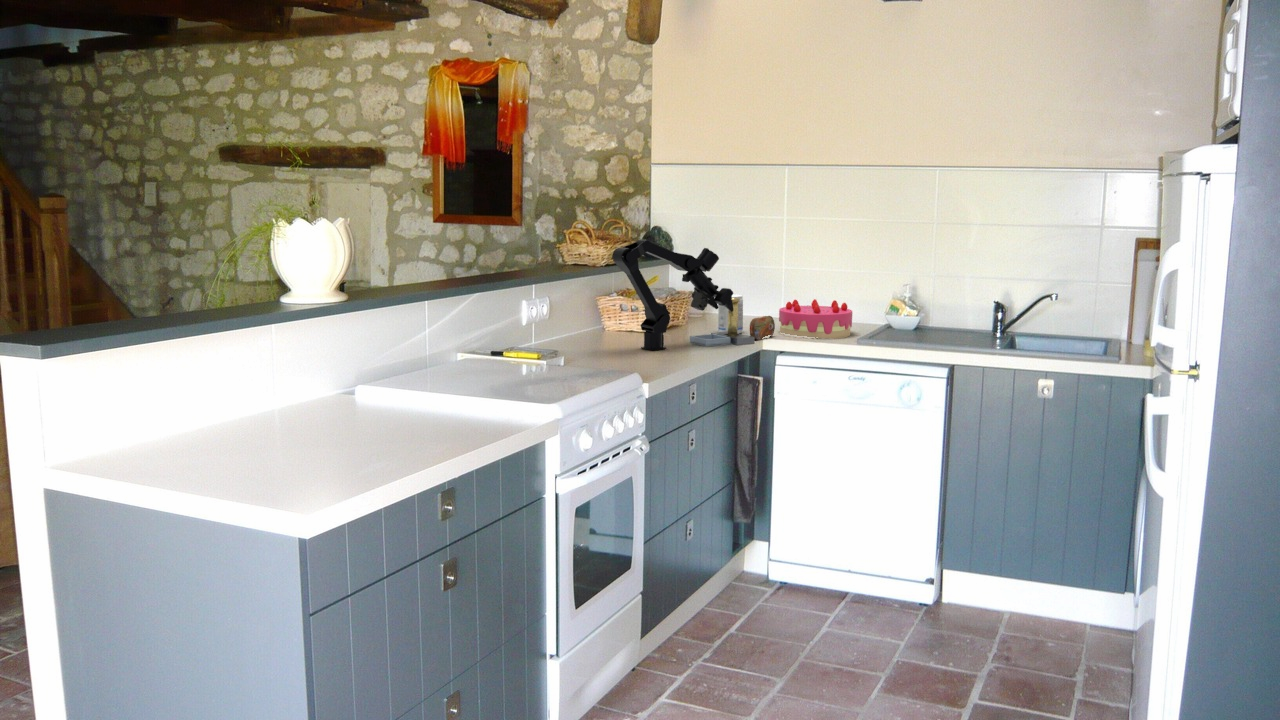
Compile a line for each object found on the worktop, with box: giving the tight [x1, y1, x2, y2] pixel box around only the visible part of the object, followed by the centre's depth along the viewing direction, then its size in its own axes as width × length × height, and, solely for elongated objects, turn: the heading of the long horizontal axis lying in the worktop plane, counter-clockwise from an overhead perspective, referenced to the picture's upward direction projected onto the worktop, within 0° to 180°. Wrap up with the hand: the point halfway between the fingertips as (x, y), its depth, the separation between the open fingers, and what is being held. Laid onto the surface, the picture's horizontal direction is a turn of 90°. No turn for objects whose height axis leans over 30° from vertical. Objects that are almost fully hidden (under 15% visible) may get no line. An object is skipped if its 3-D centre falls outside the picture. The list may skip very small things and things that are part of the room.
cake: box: [778, 298, 853, 339], centre depth 389 cm, size 28×28×12 cm
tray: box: [689, 333, 731, 348], centre depth 364 cm, size 11×11×2 cm
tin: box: [749, 315, 776, 341], centre depth 377 cm, size 15×3×8 cm, turn 143°
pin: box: [728, 298, 740, 336], centre depth 368 cm, size 5×5×16 cm
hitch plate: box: [710, 331, 756, 346], centre depth 369 cm, size 8×16×2 cm, turn 32°
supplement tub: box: [717, 293, 744, 334], centre depth 391 cm, size 10×10×15 cm
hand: (725, 309), depth 366 cm, fingers open, 9 cm apart
